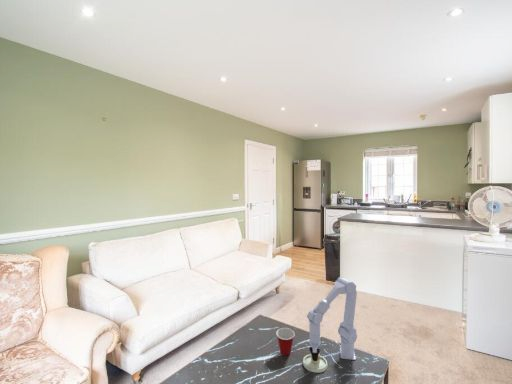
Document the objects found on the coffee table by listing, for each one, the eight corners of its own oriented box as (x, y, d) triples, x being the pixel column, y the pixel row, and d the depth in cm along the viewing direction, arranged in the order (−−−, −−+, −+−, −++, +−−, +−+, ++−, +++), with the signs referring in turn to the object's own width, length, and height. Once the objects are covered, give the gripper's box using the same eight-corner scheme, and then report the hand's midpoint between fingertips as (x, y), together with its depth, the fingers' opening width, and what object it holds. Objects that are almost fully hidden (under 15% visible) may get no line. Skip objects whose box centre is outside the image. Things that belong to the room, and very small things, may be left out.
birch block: (311, 357, 151) (311, 349, 151) (319, 358, 150) (319, 350, 150) (311, 362, 147) (311, 354, 147) (319, 363, 146) (319, 355, 146)
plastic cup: (277, 359, 154) (277, 338, 153) (275, 347, 164) (275, 328, 164) (296, 358, 154) (296, 337, 154) (293, 347, 165) (293, 327, 165)
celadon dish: (303, 355, 156) (303, 352, 156) (327, 358, 153) (327, 355, 153) (302, 370, 144) (302, 367, 144) (327, 374, 141) (327, 370, 141)
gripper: (307, 325, 156) (308, 349, 156) (306, 339, 142) (307, 365, 142) (320, 327, 154) (320, 350, 155) (320, 341, 140) (320, 367, 141)
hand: (315, 357), depth 149 cm, fingers closed on birch block, 4 cm apart
